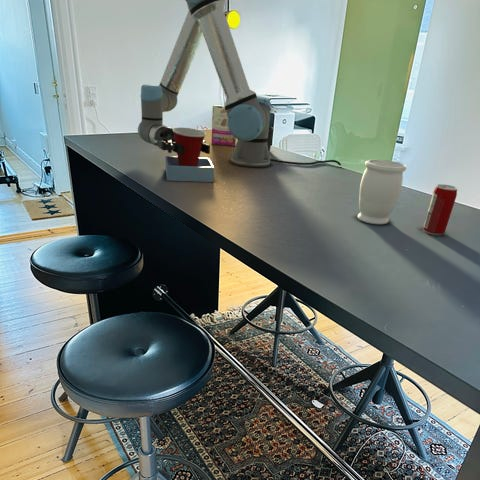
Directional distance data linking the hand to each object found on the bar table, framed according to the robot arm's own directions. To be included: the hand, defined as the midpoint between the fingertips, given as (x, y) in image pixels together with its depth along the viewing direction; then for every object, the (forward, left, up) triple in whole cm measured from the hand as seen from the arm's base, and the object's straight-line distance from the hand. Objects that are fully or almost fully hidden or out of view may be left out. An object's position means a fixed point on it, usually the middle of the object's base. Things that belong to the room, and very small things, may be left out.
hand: (196, 150), depth 141 cm
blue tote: (+2, -4, -9) cm, 10 cm away
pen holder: (-34, -57, -9) cm, 67 cm away
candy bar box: (-19, -69, -9) cm, 72 cm away
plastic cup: (+2, -4, -7) cm, 8 cm away
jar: (-45, +39, -9) cm, 61 cm away
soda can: (-58, +48, -9) cm, 76 cm away
